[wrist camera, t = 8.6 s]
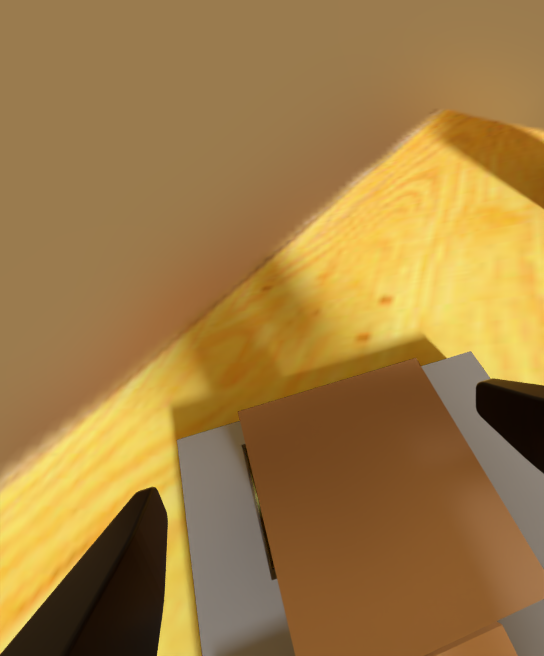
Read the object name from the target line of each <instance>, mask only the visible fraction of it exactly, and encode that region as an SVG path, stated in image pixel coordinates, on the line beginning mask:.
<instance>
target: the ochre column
mask: <svg viewBox="0 0 544 656" xmlns="http://www.w3.org/2000/svg"><path fill="white" fill-rule="evenodd" d="M238 414H239V419H240V423H241V427H242V431H243V436H244V440H245V444H246V448H247V453H248V457H249V461H250V465H251V470H252V474H253V478H254V482H255V487H256V491H257V495H258V499H259V504H260V508H261V512H262V516H263V521H264V525H265V529H266V533H267V538H268V542H269V546H270V550H271V555H272V559H273V563H274V567H275V572H276V576H277V580H278V584H279V588H280V593H281V597H282V601H283V605H284V610H285V614H286V618H287V622H288V627H289V631H290V635H291V639H292V644H293V648H294V652H295V656H424V655H426V654H428V653H431V652H433V651H435V650H437V649H439V648H441V647H443V646H445V645H447V644H450V643H452V642H454V641H456V640H458V639H460V638H462V637H464V636H466V635H469V634H471V633H473V632H475V631H477V630H479V629H481V628H483V627H485V626H488V625H490V624H492V623H494V622H496V621H498V620H500V619H502V618H504V617H507V616H509V615H511V614H513V613H515V612H517V611H519V610H521V609H523V608H526V607H528V606H530V605H532V604H534V603H536V602H538V601H540V600H543V599H544V569H543V568H542V566H541V564H540V563H539V561H538V559H537V558H536V556H535V554H534V553H533V551H532V549H531V548H530V546H529V544H528V543H527V541H526V539H525V538H524V536H523V534H522V533H521V531H520V529H519V528H518V526H517V524H516V523H515V521H514V520H513V518H512V516H511V515H510V513H509V511H508V510H507V508H506V506H505V505H504V503H503V501H502V500H501V498H500V496H499V495H498V493H497V491H496V490H495V488H494V486H493V485H492V483H491V481H490V480H489V478H488V476H487V475H486V473H485V471H484V470H483V468H482V467H481V465H480V463H479V462H478V460H477V458H476V457H475V455H474V453H473V452H472V450H471V448H470V447H469V445H468V443H467V442H466V440H465V438H464V437H463V435H462V433H461V432H460V430H459V428H458V427H457V425H456V423H455V422H454V420H453V418H452V417H451V415H450V414H449V412H448V410H447V409H446V407H445V405H444V404H443V402H442V400H441V399H440V397H439V395H438V394H437V392H436V390H435V389H434V387H433V385H432V384H431V382H430V380H429V379H428V377H427V375H426V374H425V372H424V370H423V369H422V367H421V365H420V364H419V362H418V361H417V359H416V358H414V359H410V360H407V361H404V362H400V363H397V364H394V365H390V366H387V367H384V368H380V369H377V370H374V371H371V372H367V373H364V374H361V375H357V376H354V377H351V378H347V379H344V380H341V381H337V382H334V383H331V384H327V385H324V386H321V387H318V388H314V389H311V390H308V391H304V392H301V393H298V394H294V395H291V396H288V397H284V398H281V399H278V400H275V401H271V402H268V403H265V404H261V405H258V406H255V407H251V408H248V409H245V410H241V411H238Z"/></svg>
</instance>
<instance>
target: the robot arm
mask: <svg viewBox="0 0 544 656" xmlns="http://www.w3.org/2000/svg"><path fill="white" fill-rule="evenodd" d="M476 410H477V412H478V414H479V415H480V416H481V418H483V419H484V420H485V421H486V422H487V423H488V424H489V425H490V426H491V427H492V428H493V429H494V430H495V431H496V432H497V433H499V434H500V435H501V436H502V437H503V438H504V439H505V440H506V441H507V442H508V443H509V444H510V445H511V446H512V447H513V448H515V449H516V450H517V451H518V452H519V453H520V454H521V455H522V456H523V457H524V458H525V459H527V460H528V461H529V462H530V463H531V464H532V465H534V466H535V467H536V468H537V469H538V470H540V471H541V472H542V473H543V474H544V386H543V385H536V384H529V383H522V382H515V381H507V380H500V379H487V380H484V381H481V382H479V383H477V385H476ZM167 529H168V518H167V512H166V509H165V507H164V505H163V502H162V500H161V497H160V495H159V492H158V490H157V489H156V488H155V487H150V488H147V489H143V490H140V491H138V492H136V493H135V494H134V496H133V497H132V498H131V499H130V500H129V502H128V503H127V504H126V505H125V506H124V507H123V509H122V510H121V511H120V512H119V513H118V515H117V516H116V517H115V518H114V519H113V521H112V522H111V523H110V524H109V525H108V527H107V528H106V529H105V530H104V531H103V533H102V534H101V535H100V536H99V537H98V538H97V540H96V541H95V542H94V543H93V544H92V546H91V547H90V548H89V549H88V550H87V552H86V553H85V554H84V555H83V556H82V558H81V559H80V560H79V561H78V562H77V564H76V565H75V566H74V567H73V568H72V569H71V571H70V572H69V573H68V574H67V575H66V577H65V578H64V579H63V580H62V581H61V583H60V584H59V585H58V586H57V587H56V589H55V590H54V591H53V592H52V593H51V595H50V596H49V597H48V598H47V599H46V601H45V602H44V603H43V604H42V605H41V606H40V608H39V609H38V610H37V611H36V612H35V614H34V615H33V616H32V617H31V618H30V620H29V621H28V622H27V623H26V624H25V626H24V627H23V628H22V629H21V630H20V632H19V633H18V634H17V635H16V636H15V637H14V639H13V640H12V641H11V642H10V643H9V645H8V646H7V647H6V648H5V649H4V651H3V652H2V653H1V654H0V656H157V650H158V643H159V635H160V628H161V621H162V613H163V605H164V594H165V575H166V552H167Z"/></svg>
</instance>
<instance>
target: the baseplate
mask: <svg viewBox="0 0 544 656" xmlns="http://www.w3.org/2000/svg"><path fill="white" fill-rule="evenodd" d="M421 367H422V369H423V370H424V372H425V374H426V375H427V377H428V379H429V380H430V382H431V384H432V385H433V387H434V389H435V390H436V392H437V394H438V395H439V397H440V399H441V400H442V402H443V404H444V405H445V407H446V409H447V410H448V412H449V414H450V415H451V417H452V418H453V420H454V422H455V423H456V425H457V427H458V428H459V430H460V432H461V433H462V435H463V437H464V438H465V440H466V442H467V443H468V445H469V447H470V448H471V450H472V452H473V453H474V455H475V457H476V458H477V460H478V462H479V463H480V465H481V467H482V468H483V470H484V471H485V473H486V475H487V476H488V478H489V480H490V481H491V483H492V485H493V486H494V488H495V490H496V491H497V493H498V495H499V496H500V498H501V500H502V501H503V503H504V505H505V506H506V508H507V510H508V511H509V513H510V515H511V516H512V518H513V520H514V521H515V523H516V524H517V526H518V528H519V529H520V531H521V533H522V534H523V536H524V538H525V539H526V541H527V543H528V544H529V546H530V548H531V549H532V551H533V553H534V554H535V556H536V558H537V559H538V561H539V563H540V564H541V566H542V568H543V569H544V474H543V473H542V472H541V471H540V470H538V469H537V468H536V467H535V466H534V465H532V464H531V463H530V462H529V461H528V460H527V459H525V458H524V457H523V456H522V455H521V454H520V453H519V452H518V451H517V450H516V449H515V448H513V447H512V446H511V445H510V444H509V443H508V442H507V441H506V440H505V439H504V438H503V437H502V436H501V435H500V434H499V433H497V432H496V431H495V430H494V429H493V428H492V427H491V426H490V425H489V424H488V423H487V422H486V421H485V420H484V419H483V418H481V416H480V415H479V414H478V412H477V410H476V385H477V383H479V382H481V381H484V380H487V379H490V377H489V376H488V375H487V373H486V372H485V370H484V369H483V367H482V366H481V365H480V363H479V362H478V360H477V359H476V358H475V356H474V355H473V353H472V352H471V351H470V352H467V353H464V354H460V355H457V356H454V357H450V358H447V359H444V360H440V361H437V362H434V363H430V364H427V365H424V366H421ZM177 444H178V453H179V461H180V470H181V478H182V487H183V495H184V504H185V512H186V521H187V529H188V538H189V546H190V555H191V563H192V572H193V580H194V589H195V597H196V606H197V614H198V623H199V631H200V640H201V648H202V656H295V652H294V648H293V644H292V639H291V635H290V631H289V627H288V622H287V618H286V614H285V610H284V605H283V601H282V597H281V593H280V588H279V584H278V580H277V576H276V572H275V567H274V568H272V567H271V562H270V558H269V554H268V549H267V545H266V540H265V536H264V532H263V527H262V523H261V518H260V514H259V510H258V505H257V501H256V496H255V492H254V488H253V483H252V479H251V474H250V470H249V465H248V461H247V457H246V452H245V449H247V448H246V444H245V440H244V436H243V431H242V427H241V423H240V421H238V422H235V423H231V424H228V425H225V426H221V427H218V428H215V429H212V430H208V431H205V432H202V433H198V434H195V435H192V436H188V437H185V438H182V439H178V440H177ZM424 656H544V599H543V600H540V601H538V602H536V603H534V604H532V605H530V606H528V607H526V608H523V609H521V610H519V611H517V612H515V613H513V614H511V615H509V616H507V617H504V618H502V619H500V620H498V621H496V622H494V623H492V624H490V625H488V626H485V627H483V628H481V629H479V630H477V631H475V632H473V633H471V634H469V635H466V636H464V637H462V638H460V639H458V640H456V641H454V642H452V643H450V644H447V645H445V646H443V647H441V648H439V649H437V650H435V651H433V652H431V653H428V654H426V655H424Z"/></svg>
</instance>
